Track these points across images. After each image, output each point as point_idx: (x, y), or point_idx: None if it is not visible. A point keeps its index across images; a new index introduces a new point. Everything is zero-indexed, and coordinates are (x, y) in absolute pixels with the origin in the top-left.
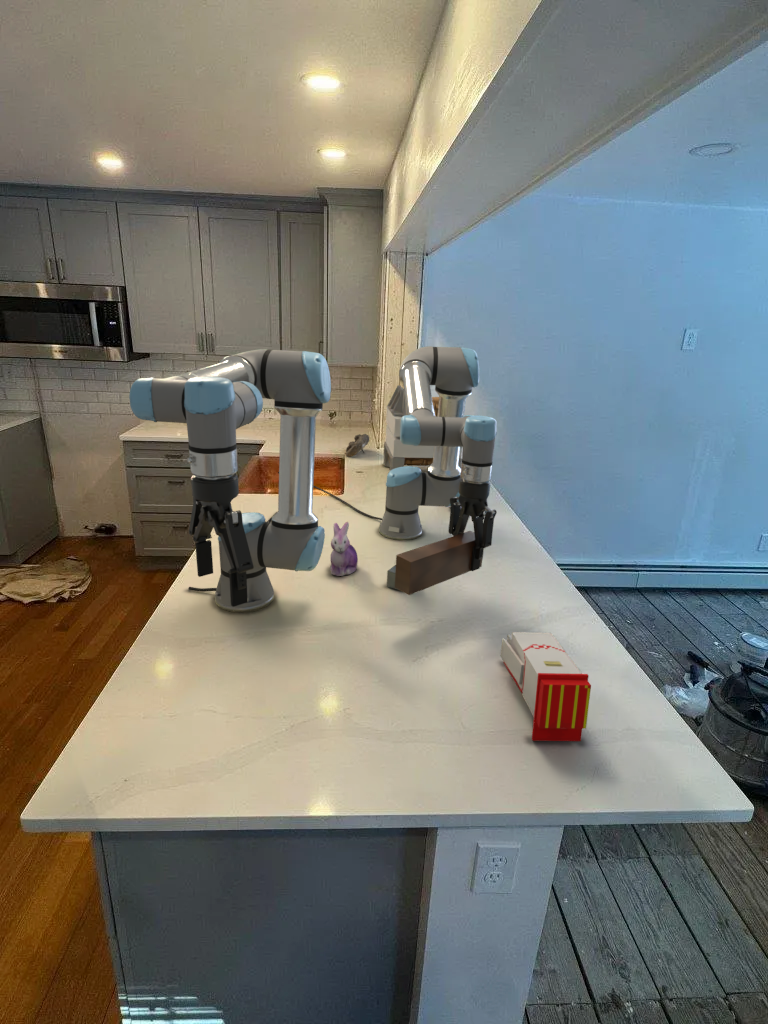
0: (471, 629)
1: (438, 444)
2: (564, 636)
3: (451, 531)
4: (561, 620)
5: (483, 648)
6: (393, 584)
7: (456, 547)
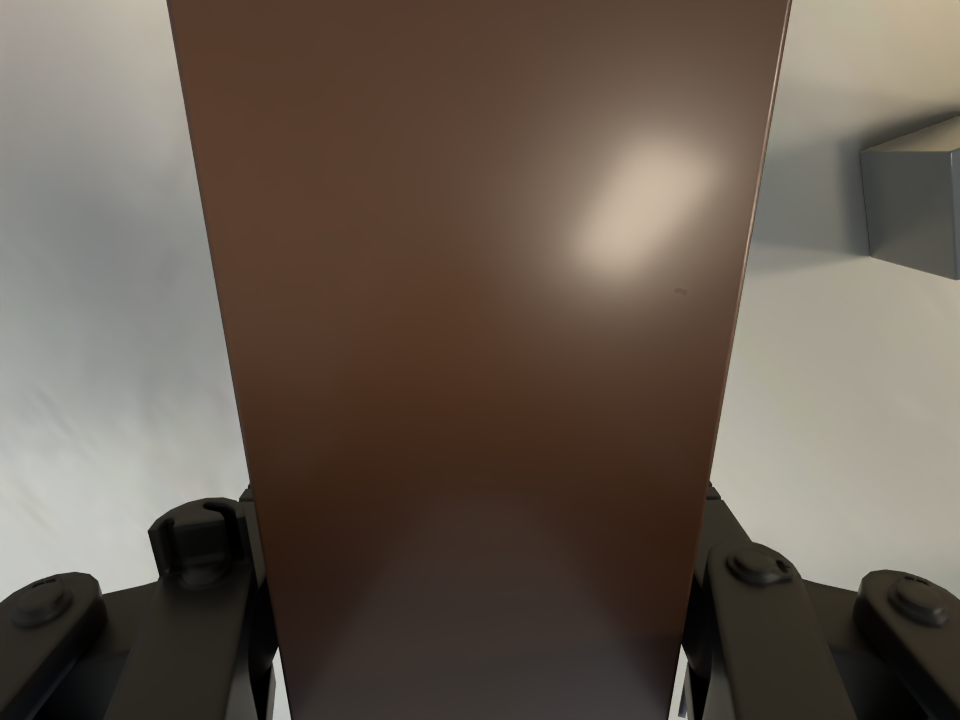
0: None
1: None
2: (29, 476)
3: (897, 623)
4: (143, 566)
5: (95, 55)
6: (948, 125)
7: (182, 27)
